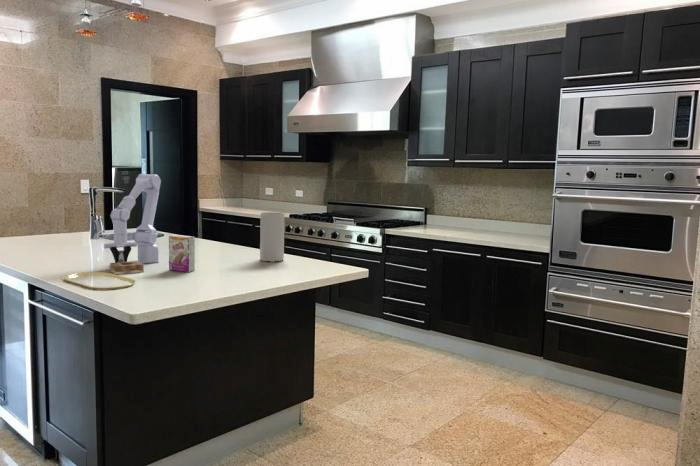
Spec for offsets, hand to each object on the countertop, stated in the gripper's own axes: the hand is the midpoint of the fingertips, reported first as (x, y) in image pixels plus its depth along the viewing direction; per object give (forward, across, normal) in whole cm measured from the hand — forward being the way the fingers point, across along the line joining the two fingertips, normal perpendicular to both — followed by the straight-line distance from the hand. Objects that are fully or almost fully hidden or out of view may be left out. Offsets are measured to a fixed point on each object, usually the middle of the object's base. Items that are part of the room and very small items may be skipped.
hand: (120, 262), depth 258 cm
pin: (+2, 0, 0) cm, 2 cm away
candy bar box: (+3, +22, -20) cm, 30 cm away
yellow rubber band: (+3, -16, -28) cm, 32 cm away
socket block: (+2, 0, -10) cm, 10 cm away
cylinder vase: (+3, +73, -14) cm, 74 cm away
